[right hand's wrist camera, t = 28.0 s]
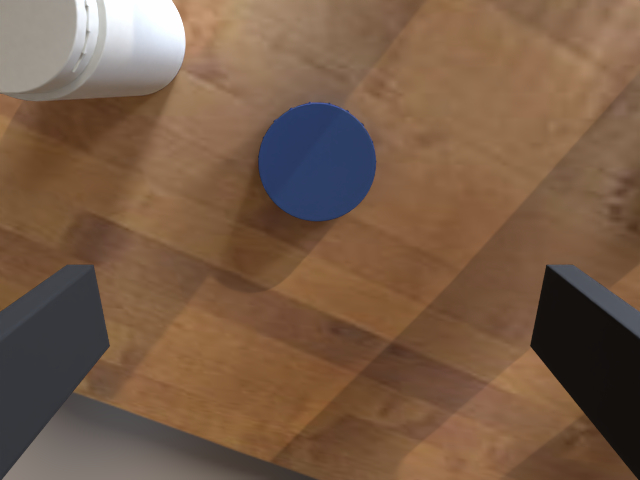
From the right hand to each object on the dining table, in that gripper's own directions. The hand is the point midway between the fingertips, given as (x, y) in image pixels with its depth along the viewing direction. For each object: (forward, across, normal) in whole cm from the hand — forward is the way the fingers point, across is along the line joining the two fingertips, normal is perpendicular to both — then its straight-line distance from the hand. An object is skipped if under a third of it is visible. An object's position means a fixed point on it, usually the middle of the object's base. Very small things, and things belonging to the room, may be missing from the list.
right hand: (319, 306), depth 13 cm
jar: (+26, +15, -10) cm, 32 cm away
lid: (+24, 0, 0) cm, 24 cm away
